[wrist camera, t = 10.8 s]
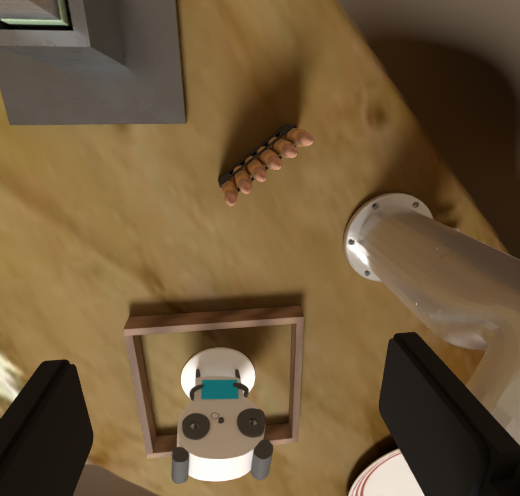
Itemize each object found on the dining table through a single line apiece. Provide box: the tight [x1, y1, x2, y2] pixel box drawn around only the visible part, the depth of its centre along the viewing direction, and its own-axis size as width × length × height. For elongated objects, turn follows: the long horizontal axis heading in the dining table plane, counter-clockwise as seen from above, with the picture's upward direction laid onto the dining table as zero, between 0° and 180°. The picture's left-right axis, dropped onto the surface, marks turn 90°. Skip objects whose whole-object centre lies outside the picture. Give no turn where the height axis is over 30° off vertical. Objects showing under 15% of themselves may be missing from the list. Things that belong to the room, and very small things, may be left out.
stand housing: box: [0, 0, 187, 125], centre depth 28 cm, size 18×18×12 cm
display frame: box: [123, 305, 304, 459], centre depth 50 cm, size 24×24×3 cm
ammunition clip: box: [218, 124, 314, 206], centre depth 35 cm, size 11×2×12 cm, turn 127°
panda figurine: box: [172, 347, 273, 484], centre depth 45 cm, size 12×11×15 cm
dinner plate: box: [348, 448, 425, 496], centre depth 65 cm, size 28×27×3 cm
